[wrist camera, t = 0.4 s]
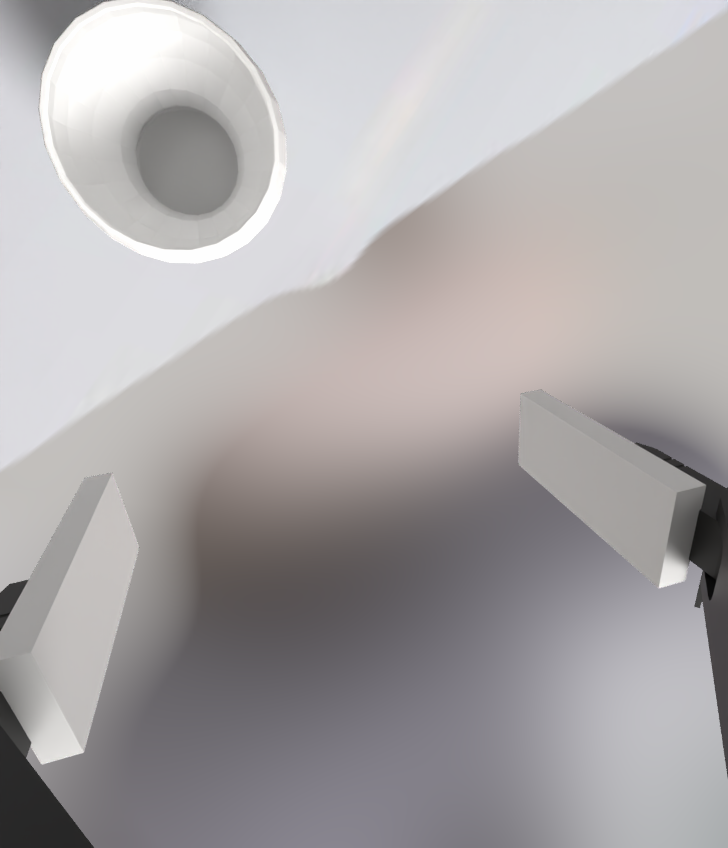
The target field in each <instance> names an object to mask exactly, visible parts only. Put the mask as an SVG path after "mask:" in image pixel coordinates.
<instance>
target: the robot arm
mask: <svg viewBox="0 0 728 848" xmlns="http://www.w3.org/2000/svg"><path fill="white" fill-rule="evenodd" d="M518 456H519V457H518V464H519V465H520V466H521V467H522V468H523V469H524V470H525V471H526V472H528V473H529V474H530V475H531V476H532V477H534V479H536V480H537V481H538V482H539V483H540V484H541V485H542V486H543V487H545V488H546V489H547V490H548V491H549V492H550V493H551V494H552V495H554V496H555V497H556V498H557V499H558V500H559V501H560V502H562V503H563V504H564V505H565V506H566V507H567V508H568V509H569V510H571V511H572V512H573V513H574V514H575V515H576V516H578V517H579V518H580V519H581V520H582V521H583V522H584V523H585V524H587V525H588V526H589V527H590V528H591V529H592V530H593V531H594V532H595V533H597V534H598V535H599V536H600V537H601V538H602V539H603V540H605V541H606V542H607V543H608V544H609V545H610V546H611V547H612V548H614V549H615V550H616V551H617V552H618V553H619V554H620V555H621V556H623V557H624V558H625V559H626V560H627V561H628V562H629V563H630V564H632V565H633V566H634V567H635V568H636V569H637V570H638V571H640V572H641V573H642V574H643V575H644V576H645V577H646V578H647V579H649V580H650V581H651V582H652V583H653V584H654V585H655V586H656V587H658V588H662V587H665V586H668V585H672V584H676V583H679V582H683V581H685V580H686V576H687V571H688V566H689V562H690V561H692V562H693V563H694V564H696V565H697V566H698V567H700V568H701V569H702V570H703V572H702V576H701V580H700V585H699V589H698V593H697V598H696V603H695V607H698V608H700V605H701V602H703V607H704V613H705V621H706V628H707V635H708V642H709V649H710V656H711V663H712V670H713V677H714V684H715V691H716V699H717V706H718V713H719V720H720V727H721V734H722V740H723V748H724V755H725V761H726V769H727V775H728V488H725V487H723V486H721V485H720V484H718V483H716V482H714V481H713V480H711V479H709V478H707V477H705V476H704V475H702V474H700V473H698V472H696V471H695V470H693V469H691V468H689V467H688V466H686V467H685V466H684V464H682V463H680V462H679V461H677V460H675V459H673V460H672V459H671V457H670V456H668V455H666V454H664V453H663V452H661V451H659V450H657V449H655V448H652V447H649V446H646V445H642V444H639V443H633V442H631V441H629V440H627V439H626V438H624V437H622V436H620V435H619V434H617V433H615V432H614V431H612V430H610V429H608V428H607V427H605V426H603V425H601V424H600V423H598V422H596V421H595V420H593V419H591V418H589V417H588V416H586V415H584V414H582V413H581V412H579V411H577V410H575V409H574V408H572V407H570V406H569V405H567V404H565V403H563V402H562V401H560V400H558V399H556V398H555V397H553V396H551V395H549V394H548V393H546V392H544V391H543V390H536V391H531V392H525V393H521V396H520V426H519V454H518ZM138 551H139V546H138V543H137V540H136V537H135V534H134V531H133V529H132V526H131V523H130V520H129V518H128V515H127V512H126V509H125V506H124V504H123V501H122V498H121V495H120V492H119V490H118V487H117V484H116V481H115V478H114V476H113V473H107V474H102V475H97V476H92V477H87V478H84V480H83V482H82V483H81V485H80V487H79V489H78V491H77V493H76V494H75V496H74V498H73V500H72V502H71V504H70V505H69V507H68V509H67V511H66V513H65V515H64V516H63V518H62V520H61V522H60V524H59V526H58V527H57V529H56V531H55V533H54V534H53V536H52V538H51V540H50V542H49V544H48V546H47V547H46V549H45V551H44V553H43V555H42V556H41V558H40V560H39V562H38V564H37V566H36V567H35V569H34V571H33V573H32V575H31V577H30V578H29V580H26V581H21V582H17V583H13V584H9V585H8V586H7V587H6V588H5V589H4V590H3V591H2V592H1V593H0V848H94V847H93V846H92V845H91V843H90V842H89V840H88V839H87V838H86V837H85V836H84V834H83V833H82V832H81V830H80V829H79V827H78V826H77V825H76V824H75V822H74V821H73V820H72V818H71V817H70V816H69V814H68V813H67V812H66V810H65V809H64V808H63V806H62V805H61V804H60V803H59V801H58V800H57V799H56V797H55V796H54V795H53V793H52V792H51V791H50V789H49V788H48V787H47V786H46V784H45V783H44V782H43V780H42V779H41V778H40V776H39V775H38V774H37V772H36V771H35V770H34V768H33V767H32V766H31V765H30V763H29V762H28V761H27V759H26V756H27V754H28V751H29V748H30V746H31V748H32V749H33V751H34V753H35V754H36V756H37V757H38V759H39V761H40V763H41V764H46V763H49V762H52V761H56V760H59V759H63V758H66V757H70V756H74V755H77V754H81V753H84V750H85V746H86V742H87V739H88V735H89V731H90V727H91V724H92V720H93V717H94V713H95V709H96V705H97V702H98V698H99V695H100V691H101V687H102V683H103V680H104V676H105V673H106V669H107V665H108V662H109V658H110V654H111V650H112V646H113V643H114V639H115V636H116V632H117V628H118V625H119V621H120V617H121V614H122V610H123V606H124V603H125V599H126V595H127V592H128V588H129V584H130V580H131V577H132V573H133V570H134V566H135V562H136V559H137V555H138Z"/></svg>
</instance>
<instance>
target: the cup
mask: <svg viewBox="0 0 728 848" xmlns="http://www.w3.org/2000/svg"><path fill="white" fill-rule="evenodd" d="M39 115H40V121H41V126H42V132H43V138H44V143H45V147H46V149H47V151H48V154H49V156H50V158H51V161H52V163H53V165H54V168H55V170H56V172H57V175H58V177H59V179H60V181H61V182H62V184H63V185H64V187H65V188H66V190H67V191H68V192H69V194H70V195H71V196H72V198H73V199H74V201H75V202H76V203H77V205H78V206H79V207H80V209H81V210H82V211H83V213H84V214H85V216H86V217H88V218H89V219H90V220H91V221H92V222H93V223H94V224H96V225H97V226H98V227H99V228H100V229H101V230H102V231H103V232H105V233H106V234H107V235H108V236H109V237H110V238H111V239H113V240H115V241H117V242H119V243H120V244H122V245H124V246H126V247H128V248H129V249H131V250H133V251H135V252H137V253H138V254H141V255H144V256H148V257H151V258H155V259H159V260H162V261H166V262H169V263H201V262H205V261H209V260H213V259H217V258H221V257H225V256H227V255H228V254H230V253H232V252H233V251H235V250H237V249H239V248H240V247H242V246H244V245H245V244H247V243H249V242H250V241H251V240H252V238H253V237H254V236H255V235H256V234H257V233H258V232H259V231H260V230H261V229H262V228H263V227H264V226H265V225H266V224H267V222H268V220H269V219H270V217H271V215H272V213H273V211H274V209H275V207H276V205H277V203H278V201H279V199H280V197H281V193H282V188H283V184H284V179H285V175H286V171H287V142H286V133H285V129H284V125H283V121H282V117H281V113H280V109H279V105H278V102H277V100H276V98H275V96H274V94H273V92H272V90H271V88H270V86H269V84H268V82H267V80H266V78H265V76H264V74H263V72H262V71H261V70H260V69H259V67H258V66H257V65H256V64H255V62H254V61H253V60H252V59H251V57H250V56H249V55H248V54H247V52H246V51H245V50H244V49H243V48H242V46H241V45H240V44H239V43H238V42H237V41H236V40H235V39H233V38H232V37H231V36H230V35H228V34H227V33H226V32H225V31H223V30H222V29H221V28H219V27H218V26H217V25H216V24H214V23H213V22H212V21H210V20H209V19H208V18H207V17H205V16H204V15H202V14H200V13H198V12H195V11H193V10H191V9H189V8H186V7H184V6H182V5H180V4H177V3H175V2H173V1H170V0H110V1H105V2H102V3H100V4H99V5H97V6H95V7H93V8H92V9H90V10H88V11H86V12H85V13H83V14H81V15H79V16H78V17H76V18H75V19H74V20H73V21H72V22H71V23H70V25H69V26H68V27H67V28H66V29H65V31H64V32H63V33H62V34H61V35H60V36H59V38H58V39H57V40H56V41H55V42H54V44H53V47H52V49H51V52H50V54H49V57H48V59H47V62H46V64H45V67H44V69H43V72H42V75H41V86H40V98H39Z"/></svg>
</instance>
